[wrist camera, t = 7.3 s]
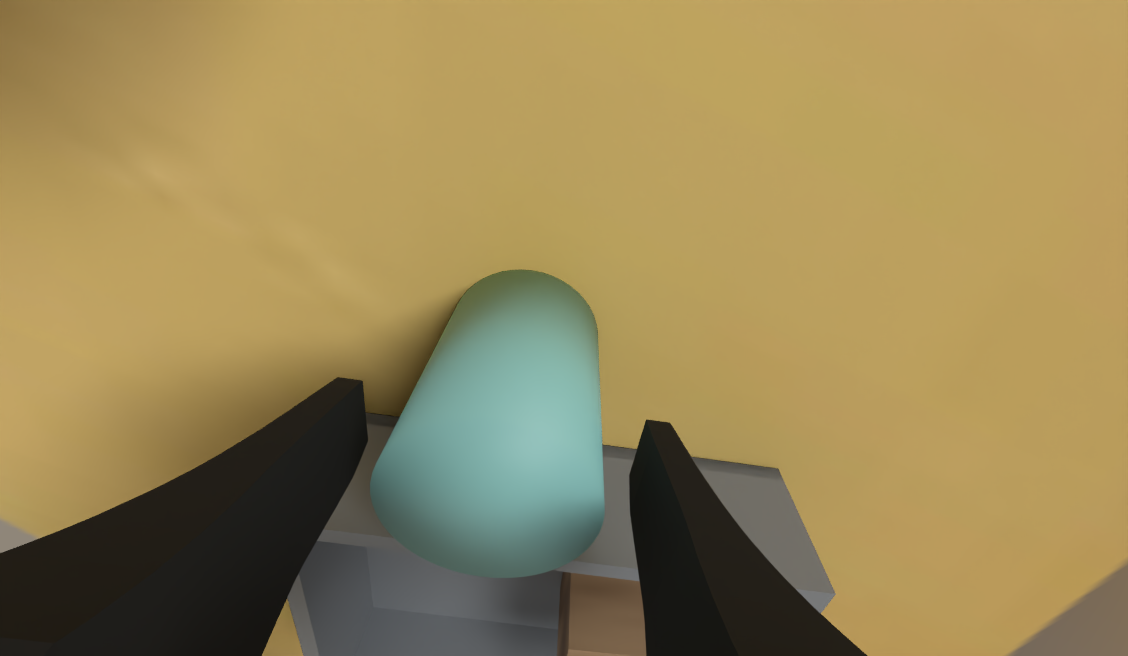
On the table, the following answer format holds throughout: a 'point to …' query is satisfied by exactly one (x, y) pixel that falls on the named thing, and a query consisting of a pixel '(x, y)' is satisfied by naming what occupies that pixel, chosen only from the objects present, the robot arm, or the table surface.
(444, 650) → the tote
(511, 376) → the teal cylinder
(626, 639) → the walnut cube
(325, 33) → the table surface
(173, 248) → the table surface
